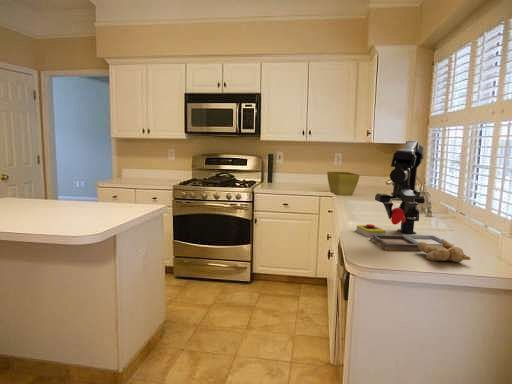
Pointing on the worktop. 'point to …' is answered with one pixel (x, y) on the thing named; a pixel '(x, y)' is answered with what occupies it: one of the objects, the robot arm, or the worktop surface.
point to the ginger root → (443, 252)
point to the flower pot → (342, 182)
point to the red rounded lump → (397, 216)
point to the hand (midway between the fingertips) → (397, 219)
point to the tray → (426, 238)
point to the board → (394, 243)
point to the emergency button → (370, 230)
